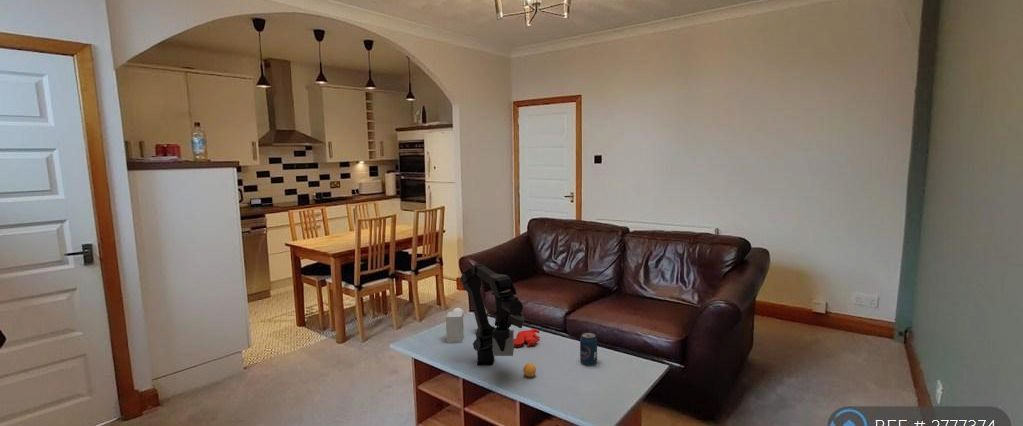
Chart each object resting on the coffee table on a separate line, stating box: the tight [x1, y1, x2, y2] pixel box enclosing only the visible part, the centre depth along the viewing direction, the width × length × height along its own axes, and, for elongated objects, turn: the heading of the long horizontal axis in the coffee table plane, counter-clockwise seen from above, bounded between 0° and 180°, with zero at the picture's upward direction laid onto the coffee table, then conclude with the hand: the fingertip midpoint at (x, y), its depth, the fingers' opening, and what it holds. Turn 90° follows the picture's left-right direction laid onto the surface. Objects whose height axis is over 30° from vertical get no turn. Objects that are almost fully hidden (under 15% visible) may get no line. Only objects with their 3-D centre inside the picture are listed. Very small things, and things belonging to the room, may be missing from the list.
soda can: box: [579, 332, 598, 367], centre depth 199 cm, size 7×7×12 cm
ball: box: [522, 362, 537, 378], centre depth 189 cm, size 5×5×5 cm
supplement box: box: [445, 311, 465, 344], centre depth 226 cm, size 7×7×13 cm
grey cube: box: [492, 329, 515, 357], centre depth 188 cm, size 8×8×7 cm
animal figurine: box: [514, 328, 541, 348], centre depth 220 cm, size 12×15×5 cm
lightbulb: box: [451, 307, 465, 318], centre depth 239 cm, size 6×6×11 cm
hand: (503, 346), depth 189 cm, fingers closed on grey cube, 8 cm apart
